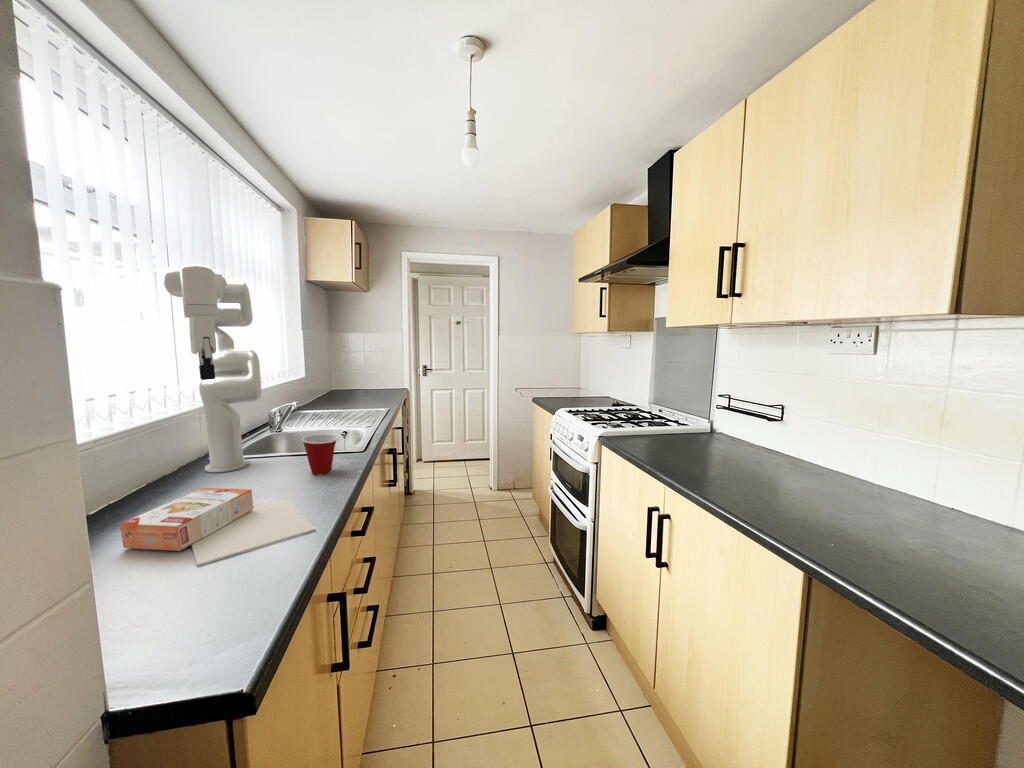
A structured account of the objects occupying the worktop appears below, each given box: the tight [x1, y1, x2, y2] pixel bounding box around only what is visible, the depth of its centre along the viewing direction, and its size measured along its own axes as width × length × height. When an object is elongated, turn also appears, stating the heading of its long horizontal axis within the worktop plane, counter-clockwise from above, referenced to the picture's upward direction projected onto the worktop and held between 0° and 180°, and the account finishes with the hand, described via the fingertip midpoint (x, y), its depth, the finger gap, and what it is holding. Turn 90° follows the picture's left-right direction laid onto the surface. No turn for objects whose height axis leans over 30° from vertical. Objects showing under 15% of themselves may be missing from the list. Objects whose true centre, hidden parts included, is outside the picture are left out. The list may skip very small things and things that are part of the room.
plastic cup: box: [301, 433, 339, 475], centre depth 137 cm, size 11×11×12 cm
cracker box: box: [119, 487, 254, 552], centre depth 97 cm, size 14×6×21 cm
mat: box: [190, 498, 316, 567], centre depth 98 cm, size 24×22×1 cm
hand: (207, 379), depth 115 cm, fingers closed
